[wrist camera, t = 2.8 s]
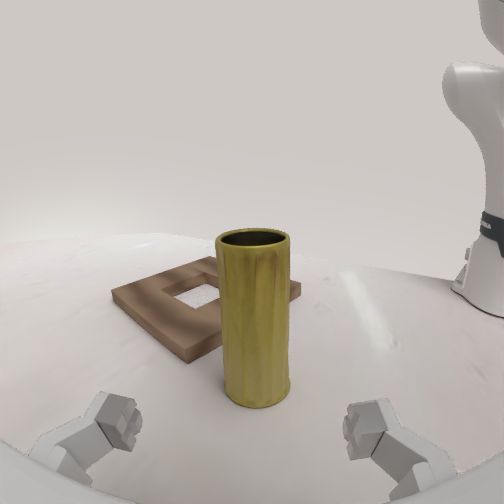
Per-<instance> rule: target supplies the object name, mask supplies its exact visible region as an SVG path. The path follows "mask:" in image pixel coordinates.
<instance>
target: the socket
mask: <svg viewBox="0 0 504 504" xmlns="http://www.w3.org/2000/svg"><path fill="white" fill-rule="evenodd" d="M205 283H207V284H210V285H212V286H215V287H217V288H219V284H218V272H217V258H214V257H211V256H209V257H206V258H203V259H200V260H197V261H194V262H191V263H188V264H185V265H182V266H179V267H176V268H173V269H170V270H167V271H165V272H162V273H159V274H156V275H153V276H150V277H147V278H144V279H141V280H138V281H135V282H133V283H130V284H127V285H124V286H121V287H118V288H115V289H112V290H111V292H112V296H113V300H114V302H115V303H116V304H117V305H118V306H119V307H120V308H122V309H123V310H124V311H125V312H126V313H127V314H128V315H129V316H130V317H131V318H133V319H134V320H135V321H136V322H137V323H138V324H139V325H140V326H142V327H143V328H144V329H145V330H146V331H147V332H149V333H150V334H151V335H152V336H153V337H154V338H156V339H157V340H158V341H159V342H161V343H162V344H163V345H164V346H165V347H167V348H168V349H169V350H170V351H172V352H173V353H174V354H176V355H177V356H178V357H179V358H181V359H182V360H183V361H185V362H186V363H187V364H189V363H191V362H192V361H194V360H196V359H198V358H199V357H201V356H203V355H205V354H206V353H208V352H210V351H212V350H213V349H215V348H217V347H218V346H220V345H222V344H223V342H222V324H221V310H220V298H218V299H216V300H214V301H212V302H210V303H207V304H205V305H203V306H201V307H199V308H197V309H194V308H192V307H190V306H188V305H186V304H185V303H183V302H181V301H179V300H177V299H176V298H174V297H173V296H176V295H178V294H181V293H183V292H186V291H188V290H190V289H193V288H195V287H198V286H200V285H203V284H205ZM300 295H301V283H299V282H296V281H292V280H290V294H289V302H291V301H292V300H294V299H295V298H297V297H298V296H300Z"/></svg>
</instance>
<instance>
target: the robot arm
mask: <svg viewBox="0 0 504 504" xmlns="http://www.w3.org/2000/svg"><path fill="white" fill-rule="evenodd" d="M478 4H479V11H480V19H481V26H482V29H483V31H484V34H485V35H486V37H487V39H488V40H489V41H490V43H491V44H492V45H493V46H494V47H495V48H496V49H497V50H498V51H500V52H501V53H502V54H503V55H504V0H478ZM442 88H443V94H444V97H445V100H446V103H447V105H448V107H449V108H450V110H451V111H452V112H453V114H454V115H455V116H456V117H457V118H458V119H459V120H460V121H462V122H463V123H464V124H465V125H466V127H467V128H468V129H469V130H470V131H471V133H472V134H473V136H474V137H475V139H476V141H477V142H478V145H479V147H480V149H481V152H482V155H483V159H484V163H485V171H486V201H485V211H483V212H482V218H481V226H480V232H481V234H480V236H479V238H478V240H477V241H475V242H474V244H473V245H471V248H467V250H466V254H465V259H466V260H468V264H465V266H464V268H463V269H462V270H461V272H460V273H459V275H458V276H457V278H456V279H455V281H454V282H453V284H452V287H451V288H452V290H454V291H455V292H457V293H459V294H461V295H463V296H464V297H465V298H466V299H467V300H468V301H469V302H471V303H472V304H473V305H475V306H476V307H478V308H480V309H482V310H484V311H486V312H488V313H491V314H494V315H497V316H501V317H504V68H502V67H498V66H493V65H488V64H483V63H478V62H462V63H453V64H450V65H449V67H448V68H447V69H446V71H445V73H444V76H443V82H442ZM136 405H137V404H136V402H135V400H134V399H132V398H127V397H123V396H119V395H114V394H110V393H106V392H102V391H101V392H99V393H98V394H97V395H96V397H95V398H94V400H93V402H92V403H91V405H90V406H89V408H88V410H87V411H86V413H85V415H84V416H83V417H81V416H80V417H78V418H76V419H74V420H72V421H70V422H68V423H66V424H64V425H62V426H60V427H58V428H56V429H54V430H52V431H50V432H48V433H46V434H44V435H42V436H40V437H39V439H38V440H37V442H36V444H35V445H34V447H33V448H32V450H31V451H30V453H29V454H28V456H27V455H25V454H24V453H22V452H20V451H19V450H17V449H16V448H14V447H13V446H11V445H10V444H8V443H7V442H5V441H4V440H2V439H1V438H0V504H139V503H136V502H132V501H129V500H125V499H122V498H119V497H116V496H113V495H110V494H107V493H104V492H102V491H99V490H96V489H94V488H91V487H90V485H91V483H92V479H91V477H90V476H89V475H88V474H87V473H86V472H85V470H86V469H87V468H89V467H90V466H91V465H93V464H94V463H95V462H97V461H98V460H99V459H101V458H102V457H103V456H105V455H106V454H107V453H109V452H110V451H111V450H112V449H113V448H116V449H120V450H125V451H129V452H132V450H133V447H134V445H135V442H136V438H135V435H136V434H138V433H139V432H140V430H141V427H142V416H141V413H140V411H138V410H137V409H136V408H135V407H136ZM347 412H348V415H347V416H346V417H345V418H344V422H343V434H344V439H346V440H347V441H348V442H349V443H348V445H347V451H348V455H349V459H350V460H357V459H363V458H368V457H371V459H372V460H373V461H374V462H375V463H376V464H378V465H379V466H380V467H381V468H382V469H383V470H384V471H385V472H386V473H388V474H389V475H390V476H391V477H392V478H393V479H394V480H396V481H397V482H398V484H397V486H396V487H395V488H394V489H393V490H392V491H391V492H390V494H389V497H390V501H391V502H387V503H384V504H504V450H503V451H501V452H500V453H498V454H497V455H495V456H493V457H492V458H490V459H488V460H487V461H485V462H483V463H481V464H480V465H478V466H476V467H474V468H472V469H470V470H468V471H466V472H464V473H462V474H460V475H457V473H456V471H455V469H454V466H453V464H452V462H451V460H450V458H449V456H448V454H447V452H446V451H444V450H442V449H440V448H439V447H437V446H435V445H434V444H432V443H430V442H429V441H427V440H425V439H424V438H422V437H420V436H419V435H417V434H415V433H414V432H412V431H411V430H409V429H407V428H406V427H401V426H400V423H399V421H398V419H397V417H396V415H395V412H394V410H393V408H392V406H391V404H390V401H389V399H387V398H383V399H378V400H371V401H365V402H359V403H352V404H349V406H348V408H347Z"/></svg>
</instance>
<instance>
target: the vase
mask: <svg viewBox="0 0 504 504" xmlns="http://www.w3.org/2000/svg"><path fill="white" fill-rule="evenodd" d="M215 249H216V258H217V272H218V284H219V295H220V310H221V324H222V342H223V363H224V373H225V381H224V386H225V390H226V392H227V394H228V396H229V397H230V398H231V399H232V400H233V401H234V402H236V403H238V404H240V405H242V406H246V407H252V408H262V407H267V406H271V405H273V404H276V403H278V402H279V401H281V400H282V399H283V398H284V397H285V396H286V395H287V393H288V392H289V389H290V380H289V368H288V342H289V294H290V238H289V235H288V234H286V233H285V232H282V231H279V230H274V229H266V228H247V229H239V230H233V231H229V232H225V233H223V234H221V235H219V236H218V237H217V238H216V241H215Z"/></svg>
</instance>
